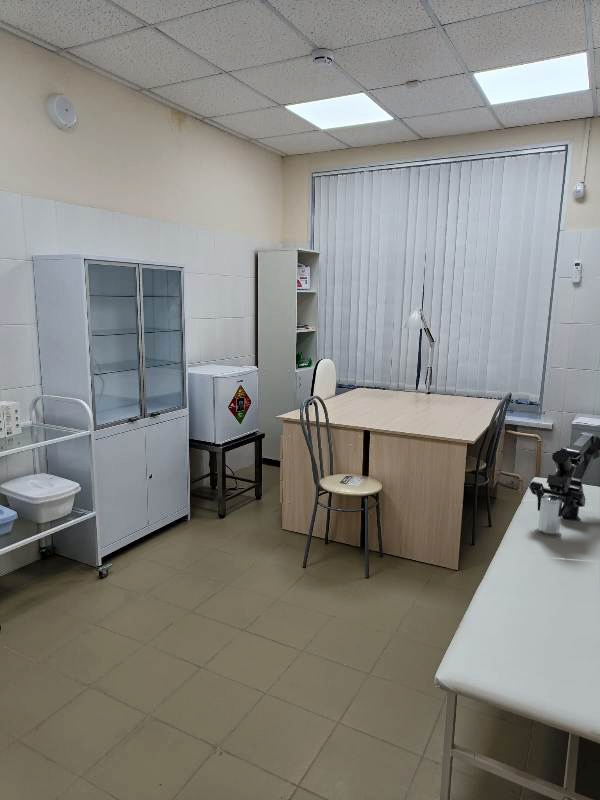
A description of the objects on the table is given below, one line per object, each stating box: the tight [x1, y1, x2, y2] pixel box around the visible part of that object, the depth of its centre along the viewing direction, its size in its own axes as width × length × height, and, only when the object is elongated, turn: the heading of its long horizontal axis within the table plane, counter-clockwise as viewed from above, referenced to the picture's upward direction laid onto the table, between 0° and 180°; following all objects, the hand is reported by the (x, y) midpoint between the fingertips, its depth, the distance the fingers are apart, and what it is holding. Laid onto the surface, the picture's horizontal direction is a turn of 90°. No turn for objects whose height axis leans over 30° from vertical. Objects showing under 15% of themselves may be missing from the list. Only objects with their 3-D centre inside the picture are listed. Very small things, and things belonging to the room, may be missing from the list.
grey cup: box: [537, 494, 563, 533], centre depth 202 cm, size 7×7×12 cm
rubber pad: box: [534, 528, 563, 539], centre depth 204 cm, size 9×9×1 cm
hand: (548, 513), depth 201 cm, fingers closed on grey cup, 7 cm apart
